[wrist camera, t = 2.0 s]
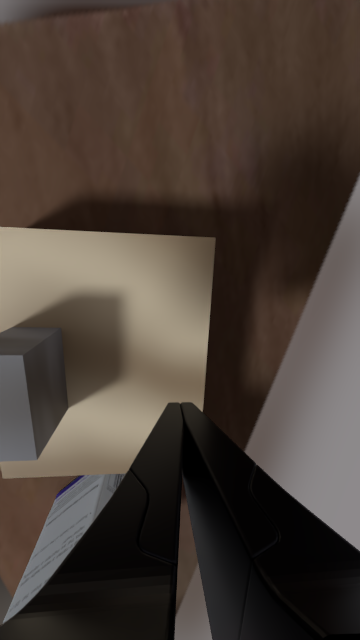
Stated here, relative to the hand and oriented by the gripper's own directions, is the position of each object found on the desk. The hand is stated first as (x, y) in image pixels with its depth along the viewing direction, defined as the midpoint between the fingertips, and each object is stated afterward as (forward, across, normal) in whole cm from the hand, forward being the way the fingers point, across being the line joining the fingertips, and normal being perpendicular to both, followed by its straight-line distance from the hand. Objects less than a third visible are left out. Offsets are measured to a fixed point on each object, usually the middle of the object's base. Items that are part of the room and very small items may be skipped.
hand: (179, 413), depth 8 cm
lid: (+4, +3, 0) cm, 5 cm away
